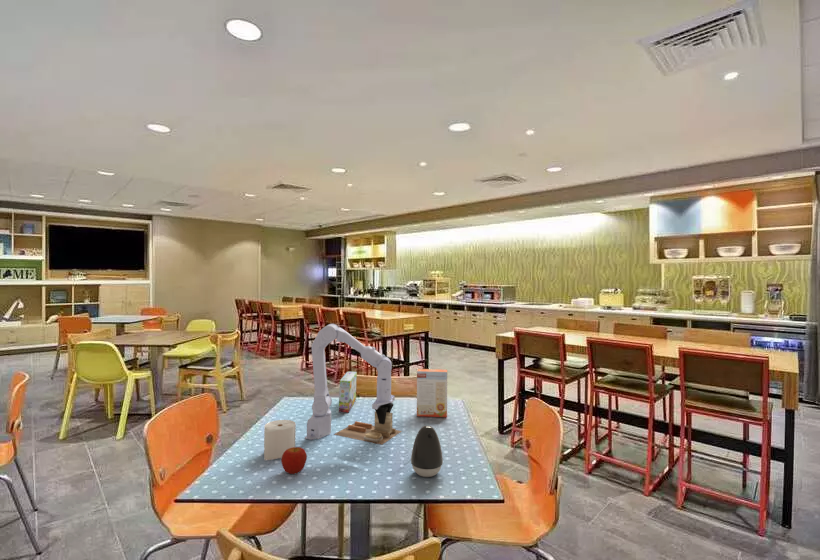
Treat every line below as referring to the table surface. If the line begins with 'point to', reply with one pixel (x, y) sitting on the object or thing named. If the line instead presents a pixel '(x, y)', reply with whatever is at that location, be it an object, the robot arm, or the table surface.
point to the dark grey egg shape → (426, 452)
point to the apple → (294, 460)
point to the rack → (365, 432)
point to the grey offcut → (374, 439)
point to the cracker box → (432, 393)
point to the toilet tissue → (278, 438)
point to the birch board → (388, 423)
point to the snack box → (347, 391)
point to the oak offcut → (373, 435)
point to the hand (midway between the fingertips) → (383, 422)
